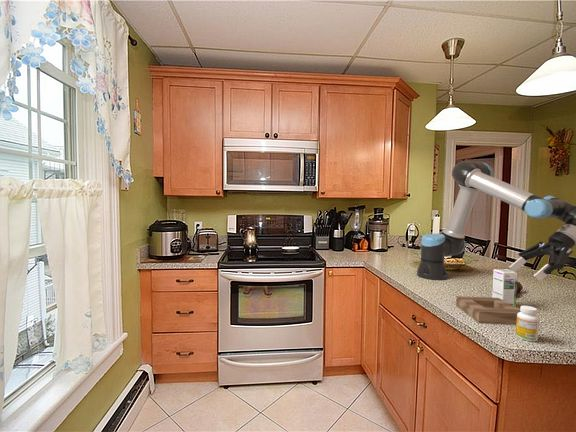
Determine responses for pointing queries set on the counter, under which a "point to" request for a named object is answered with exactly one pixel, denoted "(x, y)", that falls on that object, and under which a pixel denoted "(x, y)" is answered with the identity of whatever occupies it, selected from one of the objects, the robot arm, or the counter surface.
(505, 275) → the syrup box
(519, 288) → the bolt
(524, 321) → the supplement bottle
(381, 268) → the counter surface
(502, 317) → the socket block
